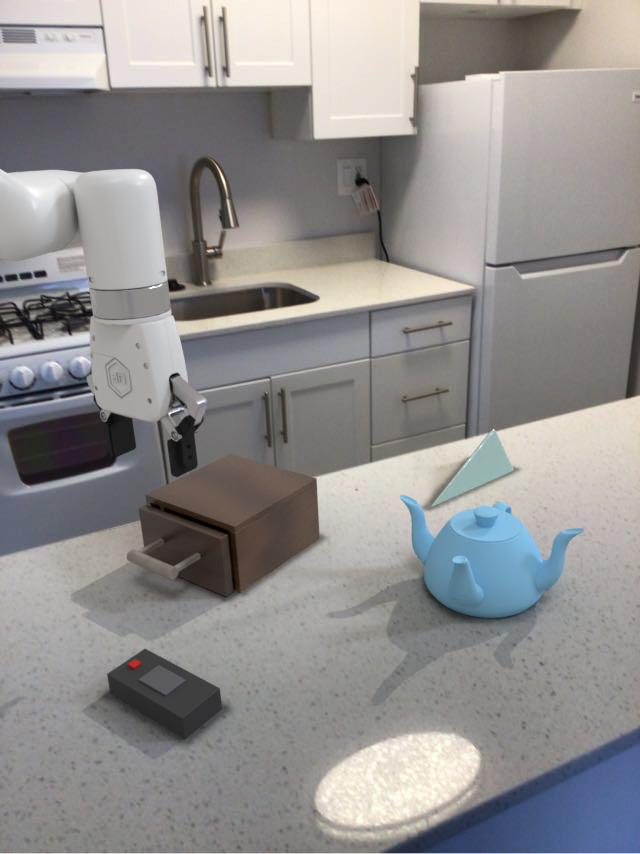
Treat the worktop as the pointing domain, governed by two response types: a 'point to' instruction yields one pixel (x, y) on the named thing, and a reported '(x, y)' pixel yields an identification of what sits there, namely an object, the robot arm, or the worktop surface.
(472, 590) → the teapot
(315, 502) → the cabinet
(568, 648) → the worktop surface
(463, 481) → the pale green wedge
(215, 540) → the drawer
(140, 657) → the remote
